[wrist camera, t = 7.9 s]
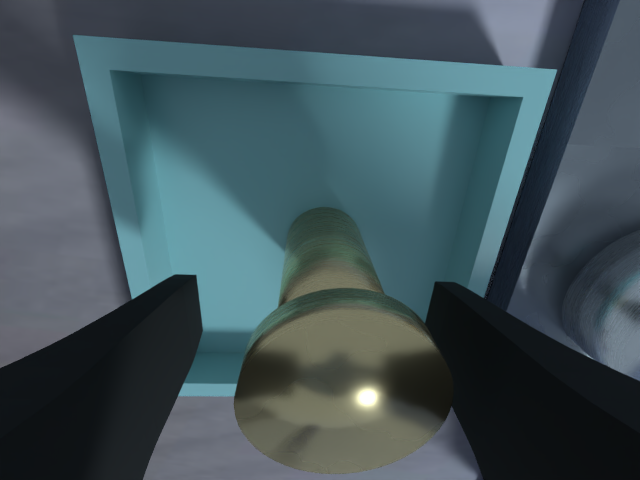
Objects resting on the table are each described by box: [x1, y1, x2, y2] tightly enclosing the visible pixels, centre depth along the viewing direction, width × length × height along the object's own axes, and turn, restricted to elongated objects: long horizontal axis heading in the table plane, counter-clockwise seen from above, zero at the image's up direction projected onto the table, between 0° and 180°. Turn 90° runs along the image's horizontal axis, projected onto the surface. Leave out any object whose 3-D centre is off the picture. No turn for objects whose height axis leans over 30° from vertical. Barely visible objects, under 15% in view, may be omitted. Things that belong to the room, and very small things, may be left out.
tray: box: [73, 35, 557, 396], centre depth 13 cm, size 14×14×2 cm
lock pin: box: [234, 207, 454, 474], centre depth 10 cm, size 4×4×8 cm
